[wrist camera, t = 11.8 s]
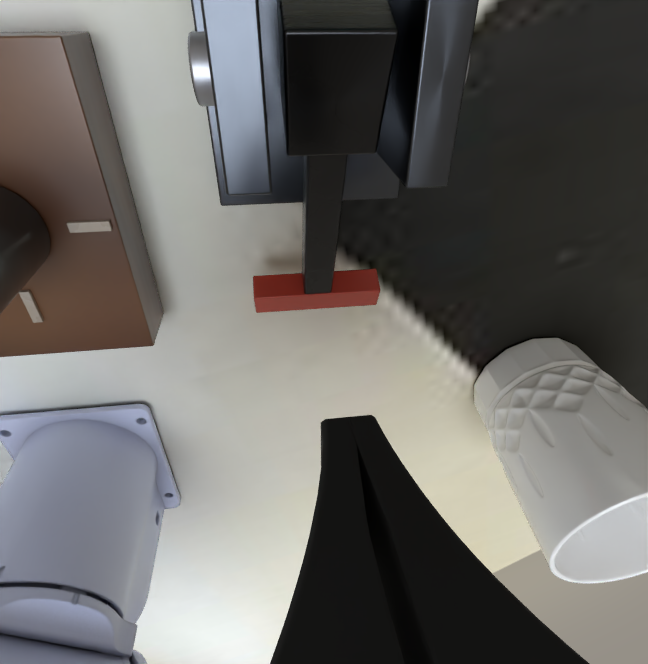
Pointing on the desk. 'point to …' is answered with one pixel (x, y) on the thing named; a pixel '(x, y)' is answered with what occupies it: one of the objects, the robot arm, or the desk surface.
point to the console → (71, 203)
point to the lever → (329, 135)
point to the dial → (19, 244)
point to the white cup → (571, 457)
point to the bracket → (266, 109)
